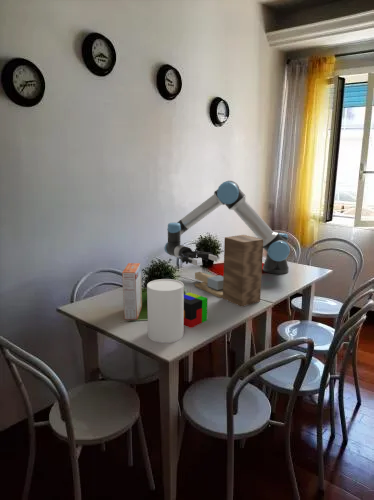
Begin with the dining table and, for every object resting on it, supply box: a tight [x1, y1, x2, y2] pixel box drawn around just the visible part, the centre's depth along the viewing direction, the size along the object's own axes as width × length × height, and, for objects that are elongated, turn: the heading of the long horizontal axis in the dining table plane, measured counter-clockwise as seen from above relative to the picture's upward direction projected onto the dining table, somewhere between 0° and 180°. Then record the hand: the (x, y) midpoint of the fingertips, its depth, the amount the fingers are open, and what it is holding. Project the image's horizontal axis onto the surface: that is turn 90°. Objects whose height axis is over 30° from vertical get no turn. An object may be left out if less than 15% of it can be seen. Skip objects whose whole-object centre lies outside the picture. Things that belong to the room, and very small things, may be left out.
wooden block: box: [222, 234, 264, 308], centre depth 177 cm, size 12×13×30 cm
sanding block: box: [194, 271, 224, 291], centre depth 198 cm, size 8×22×5 cm, turn 35°
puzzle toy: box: [184, 292, 208, 329], centre depth 155 cm, size 10×10×10 cm
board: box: [194, 281, 223, 299], centre depth 194 cm, size 13×21×1 cm, turn 35°
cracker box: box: [121, 262, 143, 321], centre depth 161 cm, size 14×6×21 cm, turn 178°
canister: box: [146, 278, 185, 344], centre depth 142 cm, size 14×14×20 cm
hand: (206, 260), depth 198 cm, fingers open, 13 cm apart
